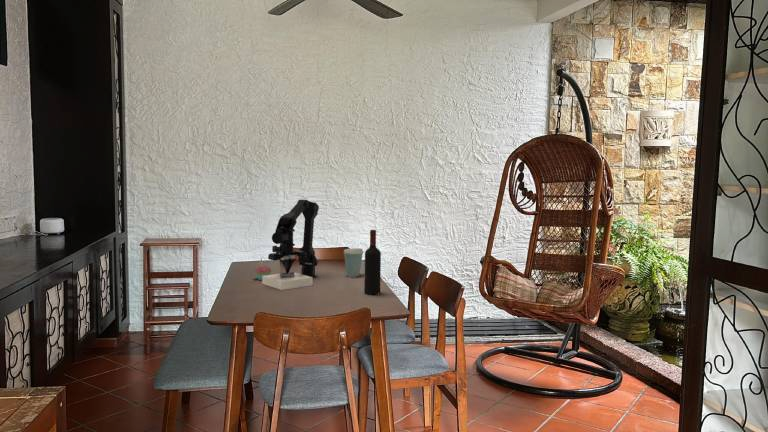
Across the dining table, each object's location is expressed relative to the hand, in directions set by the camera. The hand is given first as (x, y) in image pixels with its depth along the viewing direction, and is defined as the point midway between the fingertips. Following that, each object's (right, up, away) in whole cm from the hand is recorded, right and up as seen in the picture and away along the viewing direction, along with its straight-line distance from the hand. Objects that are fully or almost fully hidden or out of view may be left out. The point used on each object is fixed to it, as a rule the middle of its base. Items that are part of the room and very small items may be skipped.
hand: (287, 272), depth 313 cm
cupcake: (-15, -5, +13) cm, 20 cm away
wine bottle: (+43, -9, -17) cm, 46 cm away
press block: (0, -6, +1) cm, 6 cm away
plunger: (0, -6, +1) cm, 6 cm away
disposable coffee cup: (+32, -4, +25) cm, 41 cm away
